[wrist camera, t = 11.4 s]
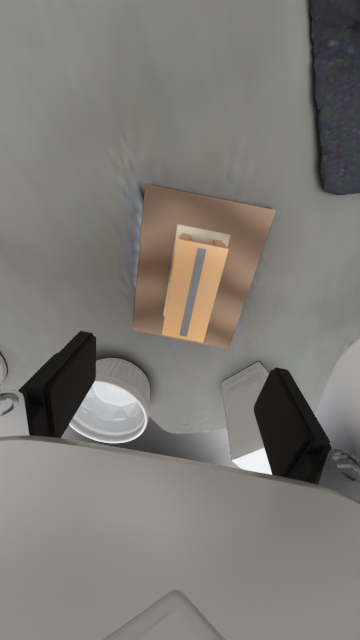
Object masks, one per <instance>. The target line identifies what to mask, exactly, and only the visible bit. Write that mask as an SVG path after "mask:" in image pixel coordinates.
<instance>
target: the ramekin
mask: <svg viewBox="0 0 360 640" xmlns="http://www.w3.org/2000/svg"><path fill="white" fill-rule="evenodd" d="M149 401H150V385H149V381H148V379H147V377H146V376H145V374H144V373H143V372H142V371H141V370H140V369H139V368H138V367H137V366H136V365H134V364H132V363H131V362H128V361H126V360H123V359H118V358H104V359H100V360H97V361H96V378H95V381H94V383H93V385H92V387H91V388H90V390H89V392H88V393H87V395H86V397H85V398H84V400H83V402H82V403H81V405H80V407H79V408H78V410H77V412H76V413H75V415H74V417H73V418H72V420H71V422H70V423H69V425H70V426H71V427H72V428H73V429H74V430H76V431H77V432H78V433H80V434H82V435H84V436H86V437H88V438H91V439H93V440H96V441H100V442H106V443H122V442H127V441H131V440H133V439H135V438H137V437H138V436H139V435H141V434H142V432H143V431H144V430H145V428H146V425H147V422H148V418H149Z"/></svg>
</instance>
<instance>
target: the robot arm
mask: <svg viewBox="0 0 360 640" xmlns="http://www.w3.org/2000/svg"><path fill="white" fill-rule="evenodd" d="M6 375H7V368H6V364H5V362H4V360H3V358H2V356H1V355H0V384H1V383H2V382H3V381H4V379H5V378H6ZM95 378H96V337H95V336H93V334H92V333H88V332H83V331H80V332H79V333H78V334H77V335H76V336H75V337H74V338H73V339H72V340H71V341H70V342H69V343H68V344H67V345H66V346H65V347H64V348H63V349H62V350H61V351H60V352H59V353H56V354H55V355H53V356H52V357H51V358H50V359H49V360H48V361H47V362H46V363H45V364H44V365H43V366H42V367H41V368H40V369H39V370H38V371H37V372H36V373H35V374H34V375H33V376H32V377H31V378H30V379H29V380H28V381H27V382H26V383H25V384H24V385H23V386H22V387H21V388H20V389H19V390H18V391H16V390H3V391H0V640H360V461H359V460H358V459H357V458H355V457H354V456H353V455H352V454H350V453H348V452H346V451H344V450H342V449H338V448H333V449H332V448H331V446H330V444H329V443H330V441H329V439H328V437H327V436H326V434H325V432H324V430H323V429H322V427H321V425H320V424H319V422H318V421H317V418H316V417H315V415H314V413H313V412H312V410H311V408H310V407H309V405H308V403H307V401H306V400H305V398H304V396H303V395H302V393H301V391H300V390H299V388H298V386H297V384H296V383H295V381H294V379H293V378H292V376H291V374H290V373H289V371H288V370H286V369H280V368H275V369H274V370H271V371H270V373H269V375H268V377H267V379H266V381H265V383H264V386H263V388H262V390H261V392H260V394H259V396H258V398H257V400H256V402H255V405H254V414H255V417H256V421H257V424H258V428H259V431H260V434H261V438H262V441H263V445H264V448H265V452H266V455H267V458H268V462H269V465H270V469H271V472H272V475H270V474H265V473H259V472H254V471H248V470H243V469H237V468H231V467H226V466H220V465H215V464H210V463H204V462H198V461H193V460H186V459H182V458H176V457H170V456H164V455H158V454H153V453H147V452H141V451H135V450H130V449H124V448H118V447H112V446H106V445H100V444H95V443H88V442H82V441H75V440H68V439H62V438H61V437H62V435H63V433H64V431H65V430H66V428H67V427H68V425H69V423H70V422H71V420H72V418H73V417H74V415H75V413H76V412H77V410H78V408H79V407H80V405H81V403H82V402H83V400H84V398H85V397H86V395H87V393H88V392H89V390H90V388H91V387H92V385H93V383H94V381H95Z"/></svg>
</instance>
